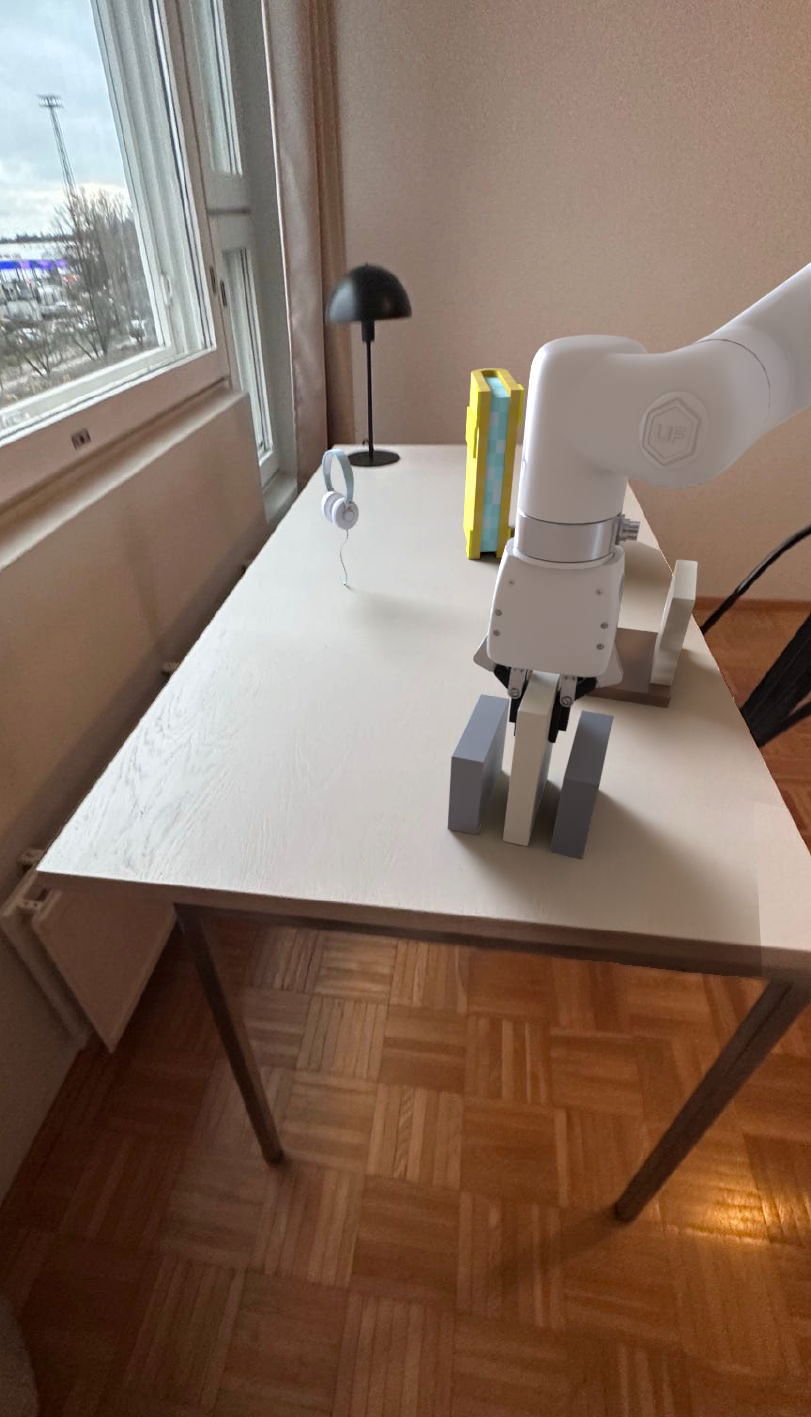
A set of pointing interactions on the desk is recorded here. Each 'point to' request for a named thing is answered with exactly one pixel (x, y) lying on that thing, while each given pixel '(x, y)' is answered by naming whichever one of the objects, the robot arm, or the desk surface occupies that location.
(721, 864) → the desk surface
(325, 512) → the headphones
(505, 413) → the book
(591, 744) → the grey books
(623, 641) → the letter rack
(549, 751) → the thin book
